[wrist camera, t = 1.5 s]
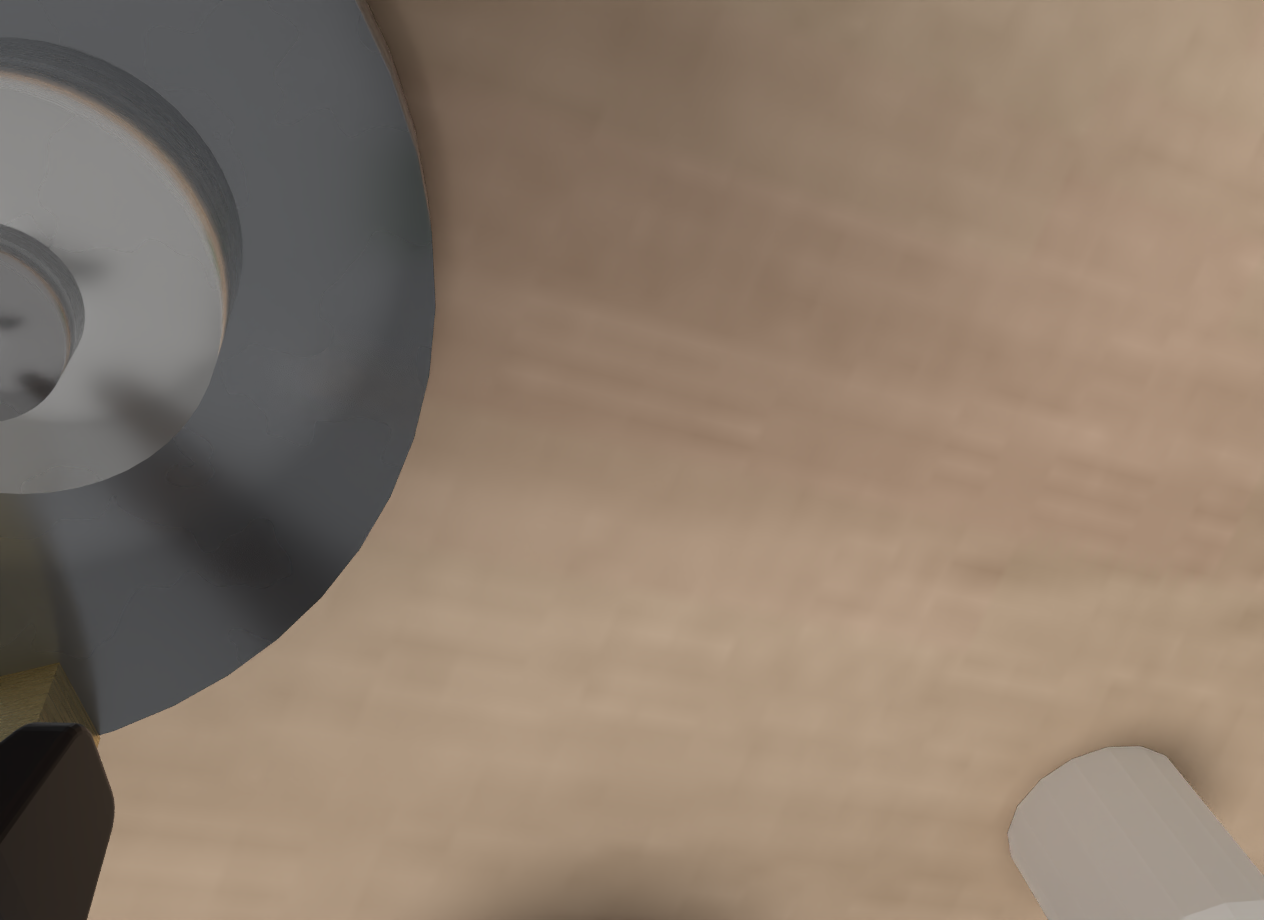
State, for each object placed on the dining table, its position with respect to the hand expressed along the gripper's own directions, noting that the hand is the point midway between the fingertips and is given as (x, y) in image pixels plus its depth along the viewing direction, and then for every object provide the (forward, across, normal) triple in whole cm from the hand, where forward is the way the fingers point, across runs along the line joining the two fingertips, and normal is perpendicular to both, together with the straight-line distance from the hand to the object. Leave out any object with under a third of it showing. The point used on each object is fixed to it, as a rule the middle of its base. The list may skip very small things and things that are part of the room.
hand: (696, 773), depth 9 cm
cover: (+11, +10, +1) cm, 15 cm away
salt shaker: (+17, -13, +20) cm, 29 cm away
